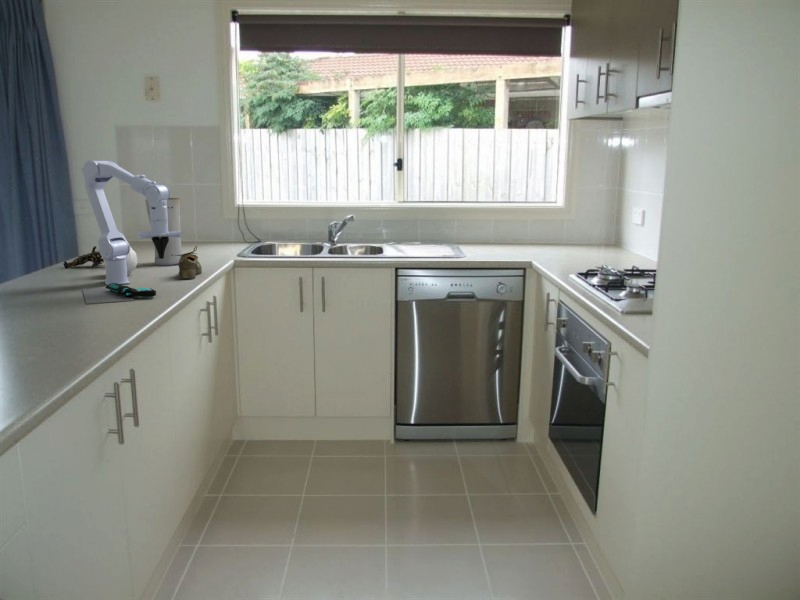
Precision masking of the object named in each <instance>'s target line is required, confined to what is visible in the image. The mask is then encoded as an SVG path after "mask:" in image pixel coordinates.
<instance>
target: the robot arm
mask: <svg viewBox="0 0 800 600" xmlns="http://www.w3.org/2000/svg"><path fill="white" fill-rule="evenodd" d="M81 172H82V175H83V178H84V186H85V187H84V188H85V191H86V194H87V196H88V199H89V203H90V204H91V208H92V210H93V214H94V217H95V218H96V222H97V225H98V229H99V230H100V234H101V235H100V237H99V238H98V240H97V242H98V252H99V253H100V255H101V256H102V258H103V259H104V260H105V265H104V268H105V279H104V280H103V281H104V283H105V285H106V286H107V285H109V284H111V283H117V284H120V285H125V284H130V283H131V282H130V281H129V278H128V275H127V263H126V258H127V255H128V254H129V252H130V247H131V246H130V245H131V244H130V243H129V242H128V241H127V239H126V237H125V235H124V234H123V233H122V232H120V231H119V230H118V228H117V225H116V221H115V220H114V216H113V213H112V211H111V207H110V205H109V202H108V199H107V196H106V193H105V191H104V188H105V186H106V185H107V184H108V183H109V182H110V181H111V180H112V179H113V178H115V179H117V180H120V181H122V182H124V183H126V184H128V185H129V186H130V188H131V190H133V191H134V192H136V193H138V194H139V195H142V196H144V197H145V198H146V199H147V200H148V204H149V206H150V221H151V225H150V231H147V232H146V231H145V232H137V239H138V240H140V239H151V241H152V243H153V244H154V245H155V246H154V248H155V247H156V249H157V252H158V256H159V259H164V252H165V249H166V246H167V244H168V241H169V239H168V238H171V237H181V238H183V234H182V233H183V232H182V230H181V231H179V232H169V231H168V215H167V200H168V199H169V198H171V197H170V196H171V192H170V189H169V188H168V186H167V185H165V184H163V183H162V184H157V182H156V180H150V179H148V178H146V177H147V176H146V175H144V174H136V175H134V174H133V173H131V172H129V171H128V170H125V169H124V168H123V167H121V166H119V165H118V164H117V163H116V162H114V161H111V160H110V159H109V160H108V159H106V160H91V159H89V160H87V161H86V162H84V164H83V167H82V168H81ZM146 199H145V200H146ZM150 221H149V222H150ZM164 235H166V236H164ZM153 236H154V237H153ZM159 238H160V239H159Z"/></svg>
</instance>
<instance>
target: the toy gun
mask: <svg viewBox="0 0 800 600" xmlns="http://www.w3.org/2000/svg"><path fill="white" fill-rule="evenodd" d="M104 288H107V289H110V290H111V291H113V292H116V293H118V294H121V295H123V296H126V297H133V298H146V299H147V298H153V297H156V296H157V291H156V290H154V289H153V288H152V287H147V288H145V287H144V288H142V287H141V288H133V287H129V286H127V285H124V284H117V283H111V284H109V285H106V286H105V287H104Z"/></svg>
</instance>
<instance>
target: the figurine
mask: <svg viewBox="0 0 800 600" xmlns="http://www.w3.org/2000/svg"><path fill="white" fill-rule="evenodd" d="M96 249H97V246H95V245H94V246H93V247H92V250H91V252H90V253H86V254H82V255H78V256H77V258H74V259H73V260H72V261H71V262H67V260H64V261H63V267H64V268H65V269H68V268H72V267H77V266H83V265H85V264H86V263H88V262H91V263H92V264H91V266H90V269H96V268H97V267H98V266H99V265H103V264H104V259H103V257H102V256H101V255H100V252H99V250H98V251H97V250H96Z"/></svg>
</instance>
